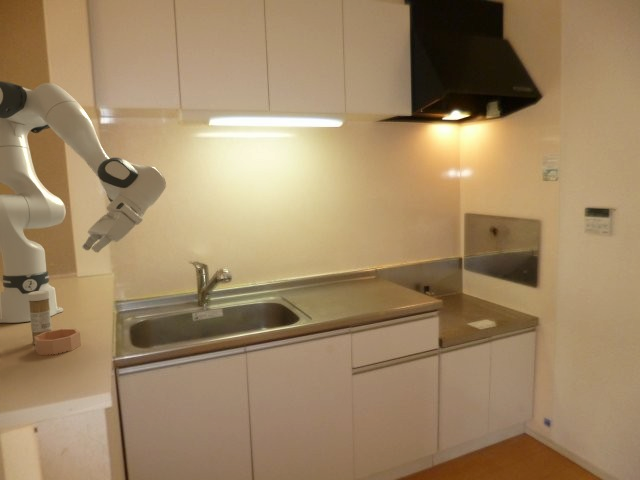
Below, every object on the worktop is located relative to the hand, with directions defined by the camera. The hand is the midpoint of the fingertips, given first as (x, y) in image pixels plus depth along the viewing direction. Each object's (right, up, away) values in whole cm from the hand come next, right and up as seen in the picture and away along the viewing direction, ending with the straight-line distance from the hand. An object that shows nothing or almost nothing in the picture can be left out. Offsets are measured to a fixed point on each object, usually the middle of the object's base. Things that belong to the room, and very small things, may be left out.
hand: (89, 250), depth 118 cm
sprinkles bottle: (-9, -24, -6) cm, 26 cm away
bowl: (-2, -24, -11) cm, 27 cm away
